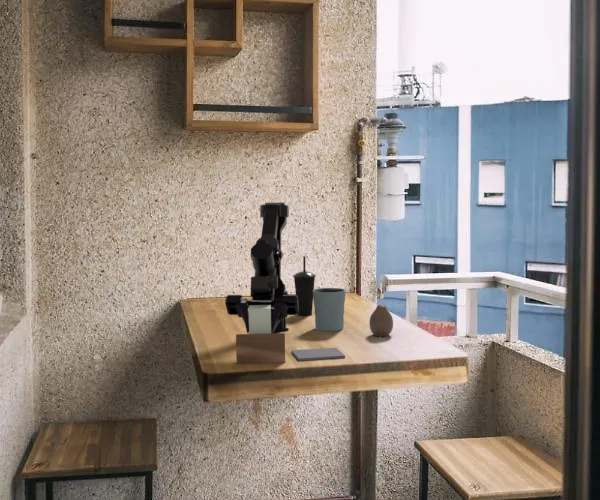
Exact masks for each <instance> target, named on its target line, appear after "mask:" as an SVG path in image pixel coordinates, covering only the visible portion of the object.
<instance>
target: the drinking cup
mask: <svg viewBox="0 0 600 500" xmlns="http://www.w3.org/2000/svg"><path fill="white" fill-rule="evenodd" d="M302 260H303V265H302V266H303V267H302V270H301V271H299V272H297V273H295V274H293V275H292V276H293V279H294V280H293V281H294V289H295V295H296V296H297V297H298V304H299V312H298V314H297V316H302V317H307V316H308V317H309V316H312V315H313V306H314V300H313V290H314V289H315V282H316V281H315V279H316V274H315V273H312V272H311V271H306V255H305V256H304V255H303V257H302Z"/></svg>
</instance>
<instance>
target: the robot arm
mask: <svg viewBox="0 0 600 500" xmlns="http://www.w3.org/2000/svg"><path fill="white" fill-rule="evenodd" d="M289 209H290V208H289V205H287V204H285V202H265V203H264V204H261V205H259V210H260V211H259V213H260V215H259V217H260V218H262V229H261V236H260V237H259V238H258V239H257V240H256V242H255V244H254V245H253V246H252V247H251V248H250V259H251V261H252V267H253V270H254V276H251V277H250V293H249V294H250V297H251V299H247V298H245V297H244V298H243V297H242V296H243V295H242V294H228V295H226V296H225V301H224V303H225V304H224V305H225V308H226V312H227V314H228V315H229V316H233V315H234V316H237V317H239V318H241V319H242V320H243V323H244V325H245V330H246V334H249V305H270V306H271V334H274V333H278V332H284V331H289V329H290V328H289V327H286V325H287V324H286V318H288V316H298V312H299V304H298V297H297V296H296V294H289V293H288V290H286V285H285V283H284V281H283V280H282V279H281V278H282V277H281V274H282V273H281V271H282V259H283V256H284V252H283V250H282V233H283V232H282V231H283V230H284V228H285V227H286V226H287V222H288V221H287V220H288V219H287V218H289V217H290V210H289Z"/></svg>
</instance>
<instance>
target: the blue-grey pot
mask: <svg viewBox="0 0 600 500" xmlns="http://www.w3.org/2000/svg"><path fill="white" fill-rule="evenodd" d="M345 302H346V289H345V288H338V287H337V288H336V287H321V288H314V290H313V306H314V325H315V330H316V331H320V332H339V331H343V330H344V327H345V326H344V324H345V320H344V317H345V315H344V314H345Z"/></svg>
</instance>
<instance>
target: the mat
mask: <svg viewBox="0 0 600 500" xmlns="http://www.w3.org/2000/svg"><path fill="white" fill-rule="evenodd" d="M291 354H292V355H293V356H294V357H295V358H296V360H298V362H300V361H301V362H305V361H317V360H318V361H319V360H330V358H336V359H345V358H346V355H345V353H343V352H342V351H340V349H339V348H337V347H325V348H323V347H322V348H305V349H304V348H303V349H291Z"/></svg>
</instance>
